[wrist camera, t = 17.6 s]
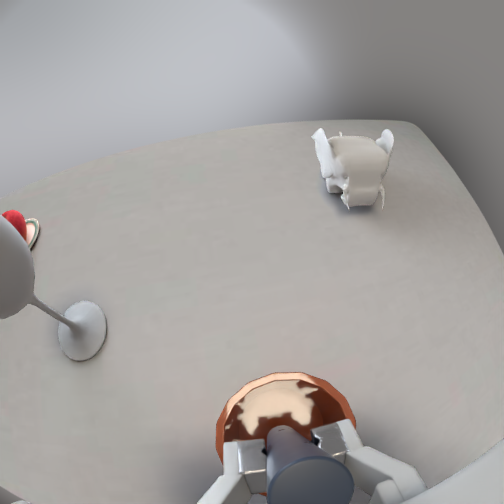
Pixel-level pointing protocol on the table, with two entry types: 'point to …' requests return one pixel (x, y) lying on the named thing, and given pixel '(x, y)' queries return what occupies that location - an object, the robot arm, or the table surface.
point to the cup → (280, 408)
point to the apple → (23, 226)
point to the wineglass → (21, 293)
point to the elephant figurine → (354, 165)
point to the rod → (304, 471)
